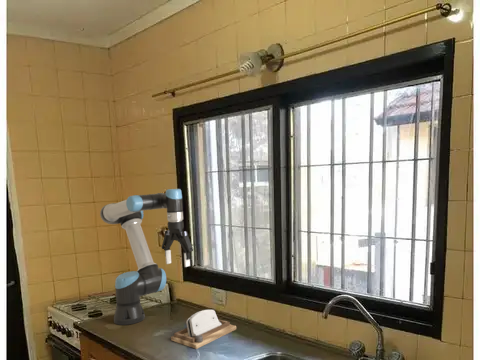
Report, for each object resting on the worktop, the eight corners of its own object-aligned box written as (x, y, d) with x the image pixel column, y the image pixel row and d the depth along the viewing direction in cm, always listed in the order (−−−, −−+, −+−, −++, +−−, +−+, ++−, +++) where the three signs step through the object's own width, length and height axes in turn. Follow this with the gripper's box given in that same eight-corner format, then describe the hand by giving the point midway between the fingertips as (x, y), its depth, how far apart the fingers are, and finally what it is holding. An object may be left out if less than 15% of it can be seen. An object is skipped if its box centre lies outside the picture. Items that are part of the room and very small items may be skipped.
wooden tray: (171, 340, 177) (170, 332, 176) (211, 322, 196) (210, 315, 196) (196, 348, 166) (196, 340, 166) (236, 329, 185) (235, 321, 185)
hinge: (196, 339, 172) (189, 315, 174) (189, 340, 175) (182, 317, 177) (223, 326, 185) (216, 305, 187) (216, 328, 187) (209, 307, 190)
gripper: (152, 221, 200) (155, 263, 200) (187, 222, 184) (189, 269, 184) (164, 219, 206) (167, 260, 206) (199, 220, 190) (201, 265, 190)
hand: (177, 265), depth 195 cm, fingers open, 13 cm apart
